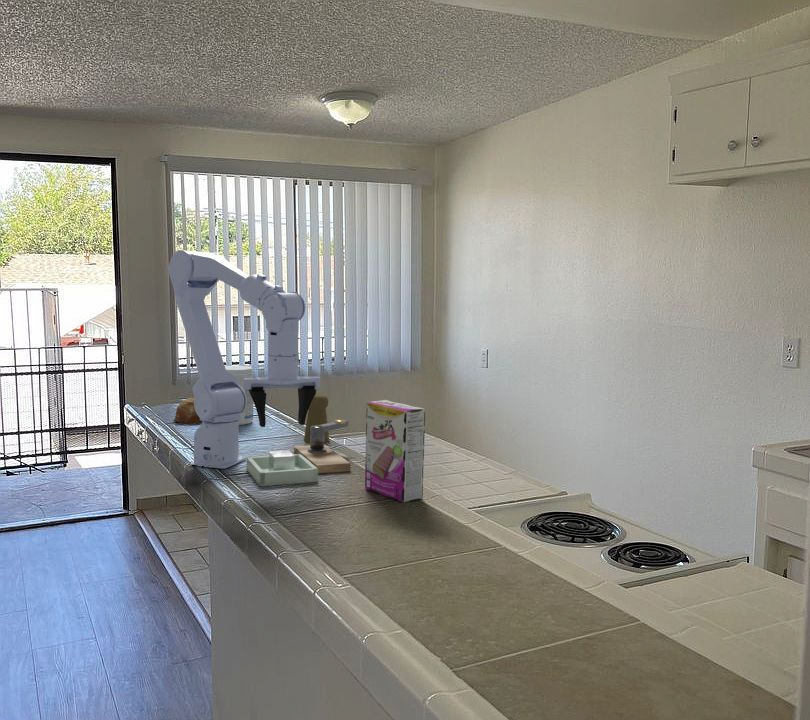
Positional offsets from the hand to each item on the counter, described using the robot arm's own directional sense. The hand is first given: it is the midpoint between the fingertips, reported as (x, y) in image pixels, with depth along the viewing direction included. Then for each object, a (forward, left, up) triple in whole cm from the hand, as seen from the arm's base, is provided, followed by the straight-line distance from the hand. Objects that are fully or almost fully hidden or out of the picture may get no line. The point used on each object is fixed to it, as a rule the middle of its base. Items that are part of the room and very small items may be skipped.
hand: (282, 425), depth 146 cm
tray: (0, 0, -10) cm, 10 cm away
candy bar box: (-5, -24, -10) cm, 27 cm away
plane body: (+13, -3, -10) cm, 17 cm away
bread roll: (+44, +45, -10) cm, 64 cm away
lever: (+20, -2, -8) cm, 21 cm away
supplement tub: (+45, +34, -10) cm, 57 cm away
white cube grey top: (0, 0, -9) cm, 9 cm away
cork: (+33, +6, -10) cm, 35 cm away
